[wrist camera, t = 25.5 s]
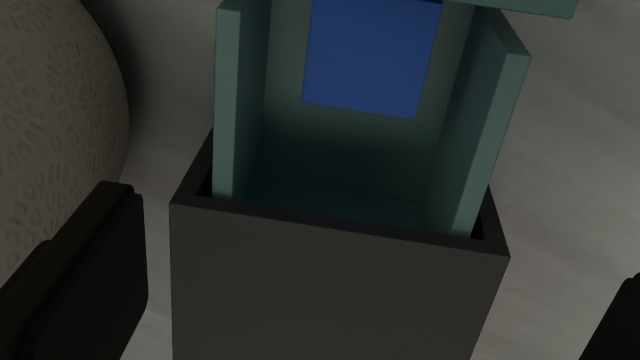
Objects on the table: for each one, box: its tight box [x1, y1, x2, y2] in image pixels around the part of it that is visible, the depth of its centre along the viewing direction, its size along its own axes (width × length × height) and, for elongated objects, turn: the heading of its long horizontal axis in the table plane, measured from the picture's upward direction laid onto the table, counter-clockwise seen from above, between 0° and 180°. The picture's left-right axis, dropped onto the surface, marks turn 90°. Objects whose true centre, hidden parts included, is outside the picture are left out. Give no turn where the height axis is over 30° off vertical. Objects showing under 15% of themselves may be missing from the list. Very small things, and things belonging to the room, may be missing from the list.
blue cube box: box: [301, 0, 443, 119], centre depth 22 cm, size 4×4×4 cm
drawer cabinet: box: [169, 127, 511, 360], centre depth 28 cm, size 15×13×10 cm
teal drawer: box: [212, 0, 579, 238], centre depth 21 cm, size 19×11×8 cm, turn 173°
